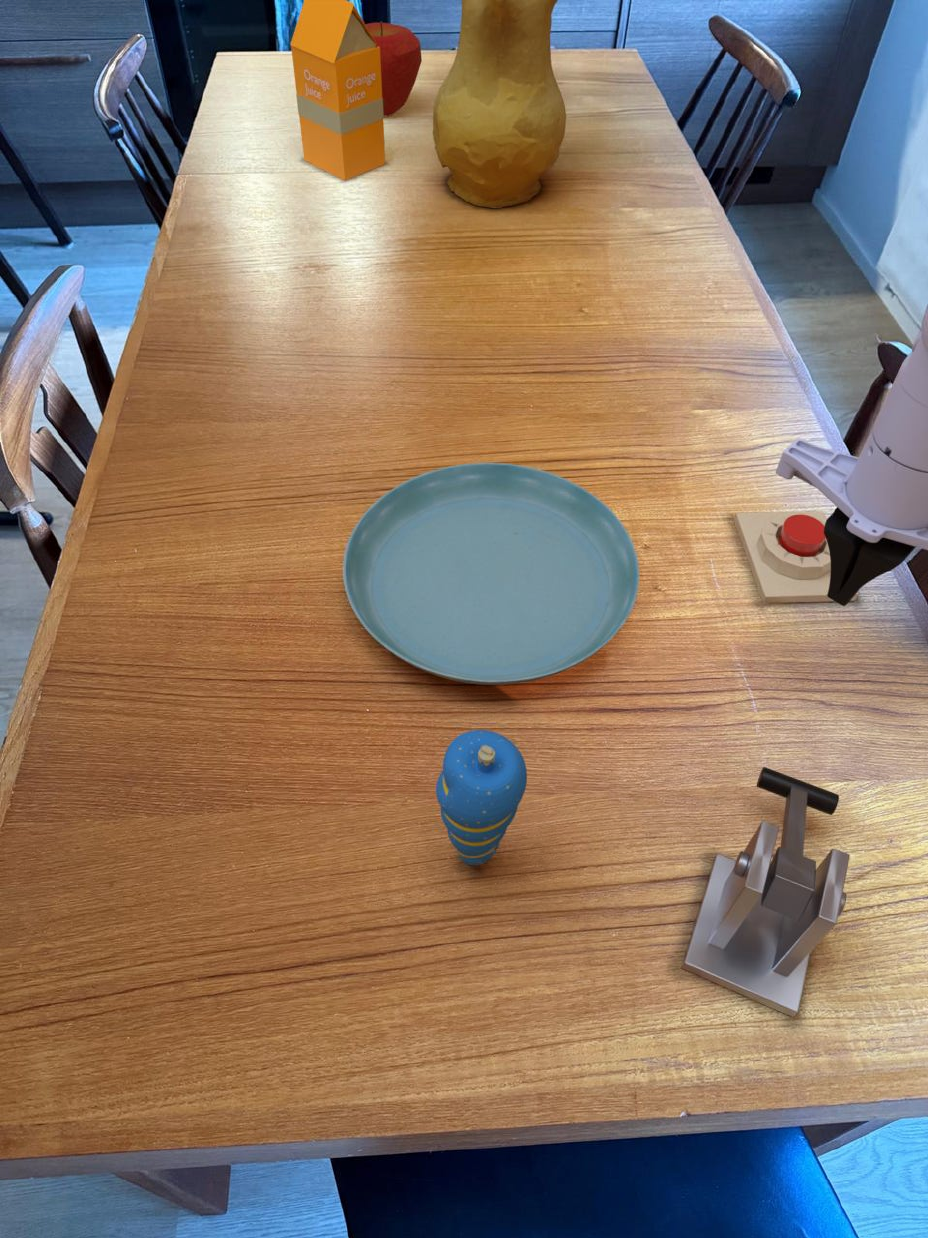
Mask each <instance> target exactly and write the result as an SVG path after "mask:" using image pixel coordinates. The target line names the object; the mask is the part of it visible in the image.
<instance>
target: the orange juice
mask: <svg viewBox="0 0 928 1238" xmlns="http://www.w3.org/2000/svg"><path fill="white" fill-rule="evenodd" d="M365 24H366V23H365V21H364V20H363V18H362V16H361V14H360V13H359V11H358V10H357V8H356V7H355V3H354V2H351V1H349V0H303V3H302V6H301V9H300V12H299V15H298V19H297V22H296V25H295V29H294V32H293V35H292V38H291V41H290V44H289V45H290V49H291V57H292V66H293V74H294V76H293V77H294V84H295V93H296V94H295V96H296V104H297V113H298V114H297V115H298V117H299V127H300V135H301V145H302V151H303V152H302V153H303V161H305V162H307V163H309V164H311V165H312V166H315V167H317V168H318V169H320V170H322V171H324V172H327V173H328V174H331V175H332V176H334V177H336V178H338V179H340V180H342V181H344V182H346V181H348V180H351V179H353V178H356V177H359V176H360V175H363V174H365V173H367V172H370V171H372V170H374V169H375V170H376V169H377V168H379V167H382V166H384V165H386V147H385V128H384V127H385V126H384V119H385V118H384V117H385V116H384V115H383V98H382V82H381V61H380V47H379V46H378V45H377V43H376V42H375V40H374V38H373V37H372V35H371V33H370V32H369V30H368V28H367V27H366V25H365Z"/></svg>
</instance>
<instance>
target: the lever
mask: <svg viewBox="0 0 928 1238" xmlns="http://www.w3.org/2000/svg"><path fill="white" fill-rule="evenodd" d="M756 787H757V788H758V789H761V790H763V791H767V792H769V793H772V794H774V795H776V796H779V797H782V798H785V805H784V812H783V822H782V831H781V840H780V846H778V847H777V848H776V850H775V853H774V855H773V856H772V859H771V863H770V867H769V871H768V875H767V879H766V883H765V887H764V890H763V894H762V900H761V906H762V907H765V908H767V909H770V910H772V911H774V912H777V913H779V914H782V915H784V916H786V917H789V918H791V919H794V920H796V921H800V919H801V917H802V915H803V913H804V911H805V909H806V907H807V905H808V903H809V901H810V899H811V897H812V895H813V893H814V891H815V873H816V869H817V861H816V860H814V859H812V858H810V857H807V856H804V850H805V849H804V848H805V838H806V837H805V836H806V835H805V834H806V821H807V808H811V809H813V810H816V811H819V812H822V813H823V814H826V815H829V816H832V815H834V814H835V812H836V809H837V807H838V804H839V801H840V795H839V794H838V793H835V792H832V791H830V790H828V789H824V788H821V787H820V786H819V787H818V786H817V785H814V784H811V783H808V782H805V781H803V780H800V779H797V778H795V777H792V776H790V775H787V774H784V773H782V772H779V771H777V770H773V769H772V768H768V767H766V766H763V767H762V768H761V771H760V773H759V776H758V778H757V782H756Z"/></svg>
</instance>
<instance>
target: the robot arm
mask: <svg viewBox="0 0 928 1238" xmlns="http://www.w3.org/2000/svg"><path fill="white" fill-rule="evenodd" d="M775 474H776V475H778V476H780V477H782V478H784V479H786V480H791V479H793V478H794V477H795V478H797V479H798V480H801V481H802V482H805V483H806V484H808V485H810V486H812V487H814V488H816V489H817V490H818V491H819V492H820V493H822V495H824V496H825V497H826V499H828V500H829V501H830V502H831V503H832V504H833V505H835V507H836V508H835V509H834V511H833V512H832V513H831V514H830V515H829V517H827V518H826V523H825V527H824V535H825V537H826V540H827V543H828V547H829V552H830V561H831V574H830V584H829V590H828V594H827V597H829V598H830V599H832V600H834V601H833V602H835V603H837V604H839V605H840V606H842V607H846V606H847V605H848V603H849V602H851V601H850V600H851V599H852V598H853V597H854V595H855V594H856V593H857V592H858V593H859V591H860V590H861V589H862V588H863V587H865V585H867V584H868V583H870V582H871V581H872V580H875V579H876V578H878V577H879V576H882V575H884V574H886V573H888V572H892V571H893V570H894V569H896V568H897V567H899V566H900V565H901V564H902V563H904V562H905V560H907V558H908V557H909V556H910V555H911V553H913V551H915V549H916V548H919V549H923V550H925V551H928V304H926V308H925V310H924V314H923V317H922V321H921V328H920V331H919V332H918V333H917V335H916V337H915V339H914V342H913V344H912V348H911V352H910V353H909V354H908V355H907V356H906V357H905V359H904V360H903V361H902V363H901V366H900V368H899V370H898V372H897V374H896V376H895V379H894V380H893V383H892V384H891V387H890V390H889V391H888V393H887V396H886V398H885V400H884V402H883V404H882V406H881V408H880V411H879V413H878V415H877V416H876V419H875V421H874V424H873V425H872V428H871V430H870V433H869V435H868V437H867V439H866V441H865V443H864V445H863V448H862V450H861V452H860V454H859V456H854V455H851V454H847V453H843V452H839V451H836V450H832V449H828V448H825V447H822V446H819V445H817V444H814V443H811V442H809V441H806V440H804V439H802V438H799V437H798V438H797V439H795V440H794V441H793V442H792V443H790V444H789V446H787V447H786V448H785V449H784V450H783V452H782V454H781V456H780V460H779V462H778V464H777V467H776V470H775Z"/></svg>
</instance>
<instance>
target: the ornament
mask: <svg viewBox="0 0 928 1238" xmlns="http://www.w3.org/2000/svg"><path fill="white" fill-rule="evenodd" d="M527 782H528V773H527V765H526V762H525V759H524V757H523V755H522V753H521V751H520V749H518V747H517V745H516V744H514V742H512V741H511V740H510V739H508V738H507V737H505V735H502V734H500V733H498V732H494V731H491V730H485V729H474V730H469V731H467V732H463V733H462V734H460V735H458V736H457V737H455V738H454V739H453V740H452V741H451V743H450V744H449V745H448V747H447V749H446V750H445V753H444V756H443V760H442V771H441V772H440V774H439V775H438V777H437V782H436V785H435V795H436V799H437V803H438V805H439V807H440V815H441V816H440V817H441V821H442V822H443V825H444V826H445V827H446V829H447V830H446V831H447V836H448V838H449V841H450V843H451V844H452V845H453V847H454V848H455V850H456V852H457V854H458V856H459V858H460V859H461V861H463V863H465V864H467V865H470V866H479V865H482V864H485V863H486V862H488V861H489V860H490V859H492V858H493V856H494V855H495V854H496V853H497V851H498V849H499V846H500V842H501V841H502V840H503V838H504V836H505V835H506V832H507V829H508V827H509V826H510V825H511V824H512V822H513V820H514V818H515V817H516V814H517V811H518V808H519V805H520V803H521V801H522V799H523V797H524V794H525V792H526V789H527Z"/></svg>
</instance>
